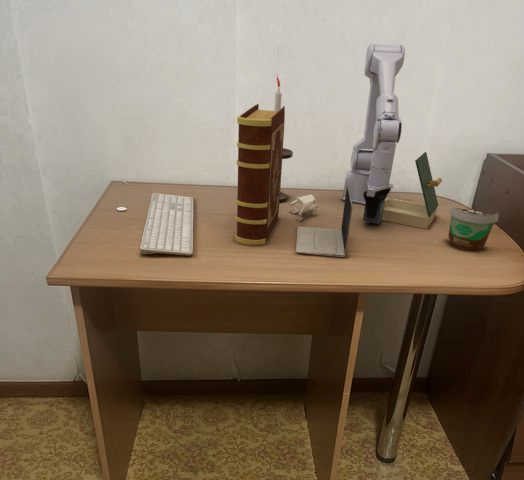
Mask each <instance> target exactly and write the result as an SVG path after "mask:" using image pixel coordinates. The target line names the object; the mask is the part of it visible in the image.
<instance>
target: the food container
mask: <svg viewBox="0 0 524 480" xmlns="http://www.w3.org/2000/svg"><path fill="white" fill-rule="evenodd" d="M454 205H455V203H453V204H452V205H451V207H450V209H449V212H448V213H449V215H450V221H449V222H450V223H449V230H448V237H447V244H448V245H449V246H451V247H452V248H454V249H457V250H461V251H465V252H479V251H482V250H483V249H484V248H485V246H486V243H487V241H488V238H489V236H490V234H491V232H492V229H493V227H494V224H495V223H497V222H498V221H499V212H496V213H493V214H492V213H486V212H483V211H480V210H476V209H467V208H459V207H455V206H454Z"/></svg>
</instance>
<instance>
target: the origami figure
mask: <svg viewBox="0 0 524 480" xmlns="http://www.w3.org/2000/svg"><path fill="white" fill-rule="evenodd" d="M298 202H299V203H300V204H301V205H302V208H301V210H300V211H298V210H297V209H296V207H295V206H294V205H295V204H297V203H298ZM289 205H290V206H291V207H292V208H293V209H294V211H293V212H292V211H291V212H292V214H296V213H298V212H299V213H298V215H299V216H300V217H301V218H299V219H298V222H299V221H302V219H304V217H303V215H302V213H303V211H304V209H305V207H307V206H310V205H312V206H311V207H310V208H309V210H310V211H311V212H312V216H315V214H314V213H315V212H316V210H317V209H318V208H319V205H318V203H317V199H316V198H315V196H314V195H313V194H311V193H310V194H307V195H302V196H295V199H294V200H293V201H292V202H290V203H289ZM314 207H315V208H314ZM312 208H314V209H312Z"/></svg>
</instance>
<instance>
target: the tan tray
mask: <svg viewBox="0 0 524 480" xmlns="http://www.w3.org/2000/svg"><path fill="white" fill-rule="evenodd" d="M437 210H438V207H437V208H436V209H435V211H434V212H433V214H432V215H431V216H430V217H428V213H427V209H426V205H425V203H419V202H414V201H408V200H403V199H398V198H391V197H386V199H385V206H384V212H383V218H382V220H381V221H384V222H390V223H395V224H399V225H404V226H410V227H415V228H420V229H425V230H427V229H428V228H429V226H430V225H431V224H432V222H433V221H434V219H435V218H436V214H437Z"/></svg>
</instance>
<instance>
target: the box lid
mask: <svg viewBox="0 0 524 480" xmlns="http://www.w3.org/2000/svg"><path fill="white" fill-rule="evenodd" d="M428 157H429V156H428V154H427V151H424V152H423V153H422V154H421V155H420V156H419V157H417V158H416V159H415V161H414V162H415V167H416V171H417V174H418V179H419V183H420V187H421V192H422V196H423V200H424V201H423V202H424V204H425V205H426V209H427V213H428V217H430V216H431V215H432V214H433V212H434V211H435V209H436V208H437V209H438V208H439V201H438V198H437V193H436V189H435V188H438V187H439V186H440V184H441V183H442V182H443V179H442V178H441V177H438V178H437V179H435V180H433V176H432V171H431V167H430V161H429V158H428Z"/></svg>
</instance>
